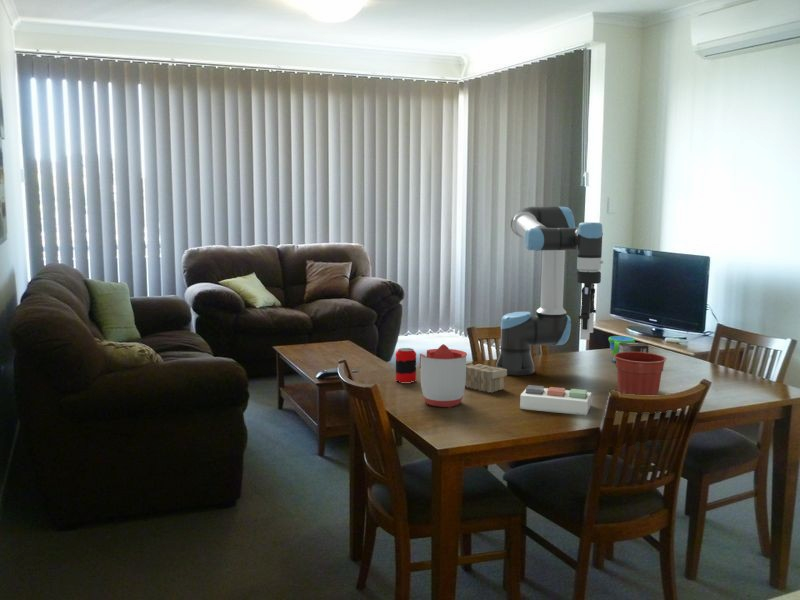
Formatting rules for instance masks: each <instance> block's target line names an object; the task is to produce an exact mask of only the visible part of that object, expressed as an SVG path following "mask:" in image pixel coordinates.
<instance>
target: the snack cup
mask: <svg viewBox="0 0 800 600" xmlns="http://www.w3.org/2000/svg"><path fill="white" fill-rule="evenodd" d="M608 342H609V348H610V351H609V352H610V358H611V362H613V363H615V364H616V358H615V357H614V354H616V353H619V343H636V338H634V337H632V336H627V335H626V336H624V335H612V336H609V337H608Z"/></svg>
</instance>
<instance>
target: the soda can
mask: <svg viewBox="0 0 800 600" xmlns="http://www.w3.org/2000/svg"><path fill="white" fill-rule="evenodd" d="M416 364H417V352H416V351H415V350H414V348H411V347H401V348H398V349H397V351H396V352H395V381H396V380H397V381H400V382H411V381H415V380H416V381H417V367H416ZM397 381H396V382H397ZM416 381H415V382H416Z"/></svg>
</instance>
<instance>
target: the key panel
mask: <svg viewBox="0 0 800 600" xmlns="http://www.w3.org/2000/svg"><path fill="white" fill-rule="evenodd" d="M548 389H549V388H548V387H544V392H543V394H542V395H539V394H528V393H526V388H525V389H524V390H523V391H522V392H521V393H520V397H519V400H520V401H519V402H520V403H519V409H520V410H528V411H539V412H549V413H558V414H559V413H560V414H567V415H568V414H570V415H580V416H588V413H589V411H590V409H591V406H592V392H591V391H590V392H589V391H587V397H586V399H583V398H572V397H569V392H570V390H571V389H570V390H569V389H565V395H564V397H561V396H550V395H547V390H548Z"/></svg>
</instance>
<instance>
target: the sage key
mask: <svg viewBox="0 0 800 600" xmlns="http://www.w3.org/2000/svg"><path fill="white" fill-rule="evenodd" d="M587 392H588V390H587V389H578V388H570V392H569V397H572V398H583V399H586V397H587Z"/></svg>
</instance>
